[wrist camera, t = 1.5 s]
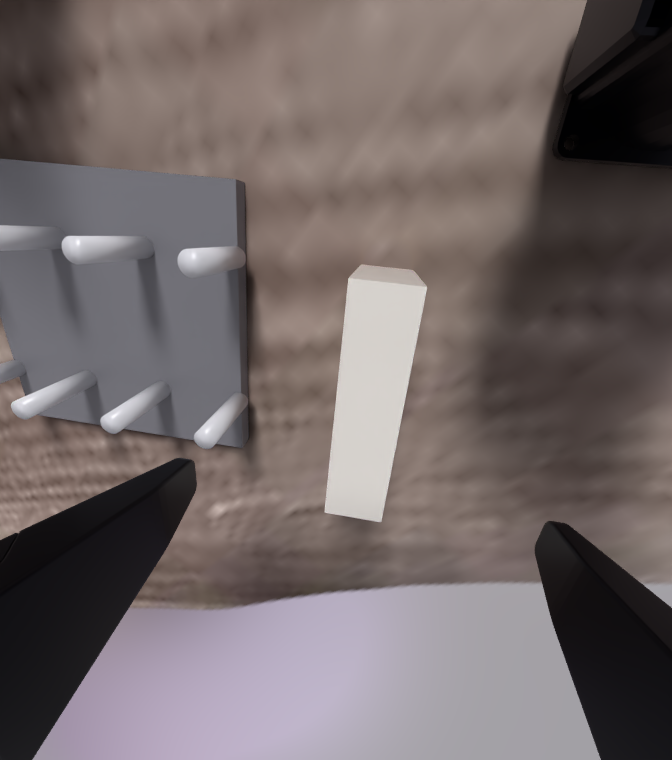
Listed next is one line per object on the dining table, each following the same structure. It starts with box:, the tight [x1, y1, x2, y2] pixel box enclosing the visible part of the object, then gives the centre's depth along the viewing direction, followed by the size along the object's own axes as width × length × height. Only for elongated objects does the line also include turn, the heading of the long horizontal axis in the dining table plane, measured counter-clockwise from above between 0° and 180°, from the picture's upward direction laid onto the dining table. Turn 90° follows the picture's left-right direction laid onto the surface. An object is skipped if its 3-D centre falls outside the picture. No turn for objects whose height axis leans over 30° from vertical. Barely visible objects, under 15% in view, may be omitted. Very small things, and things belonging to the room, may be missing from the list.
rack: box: [0, 159, 249, 449], centre depth 17 cm, size 15×14×5 cm
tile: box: [325, 265, 427, 522], centre depth 15 cm, size 2×10×6 cm, turn 175°
